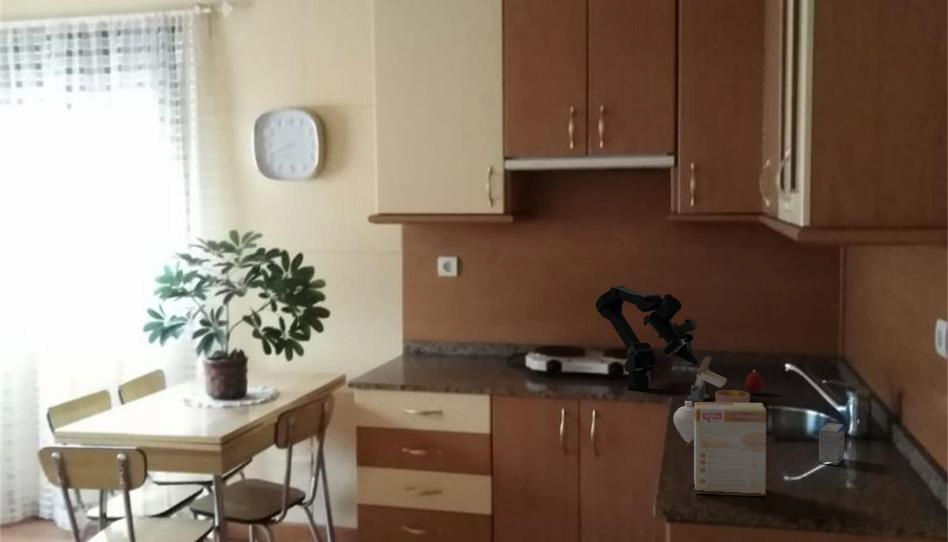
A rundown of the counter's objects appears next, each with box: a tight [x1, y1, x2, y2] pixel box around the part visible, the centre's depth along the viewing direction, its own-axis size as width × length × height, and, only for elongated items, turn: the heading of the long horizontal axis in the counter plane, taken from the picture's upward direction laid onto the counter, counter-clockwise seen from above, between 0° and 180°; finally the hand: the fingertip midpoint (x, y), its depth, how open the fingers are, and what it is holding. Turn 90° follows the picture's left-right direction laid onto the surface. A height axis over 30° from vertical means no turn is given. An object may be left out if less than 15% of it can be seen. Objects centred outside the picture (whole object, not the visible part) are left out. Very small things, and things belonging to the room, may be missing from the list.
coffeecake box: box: [693, 401, 767, 494], centre depth 206 cm, size 15×7×20 cm, turn 81°
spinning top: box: [673, 400, 694, 444], centre depth 244 cm, size 8×8×12 cm
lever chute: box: [694, 355, 728, 389], centre depth 297 cm, size 8×6×10 cm
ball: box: [729, 389, 740, 396], centre depth 293 cm, size 4×4×4 cm
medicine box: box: [818, 422, 845, 463], centre depth 229 cm, size 8×4×9 cm, turn 148°
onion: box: [744, 369, 764, 395], centre depth 306 cm, size 6×6×8 cm
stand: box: [686, 381, 710, 402], centre depth 299 cm, size 5×8×5 cm, turn 150°
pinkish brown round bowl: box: [714, 389, 751, 403], centre depth 294 cm, size 10×10×3 cm
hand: (697, 363), depth 299 cm, fingers closed
